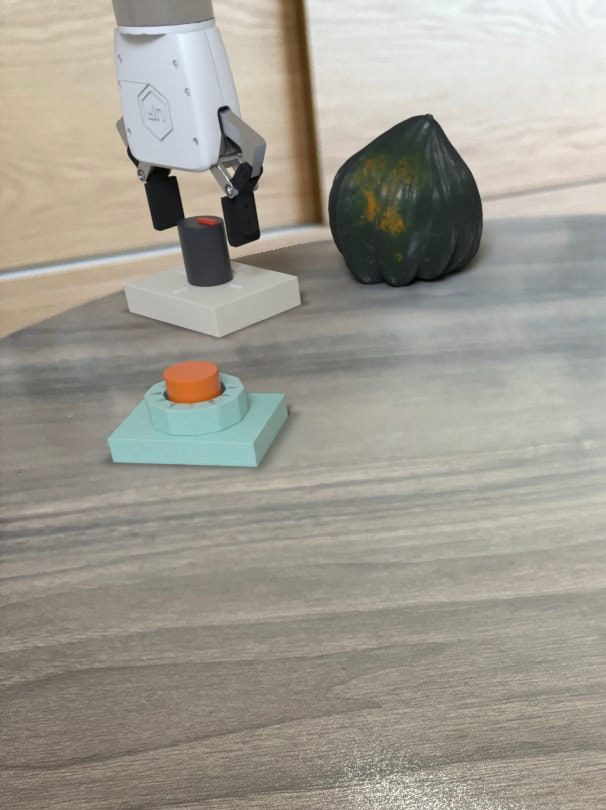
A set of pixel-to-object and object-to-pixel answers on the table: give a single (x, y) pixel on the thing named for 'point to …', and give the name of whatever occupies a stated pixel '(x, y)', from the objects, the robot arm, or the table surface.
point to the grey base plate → (213, 298)
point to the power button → (192, 382)
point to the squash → (406, 206)
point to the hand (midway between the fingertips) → (206, 234)
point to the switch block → (200, 428)
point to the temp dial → (205, 250)
